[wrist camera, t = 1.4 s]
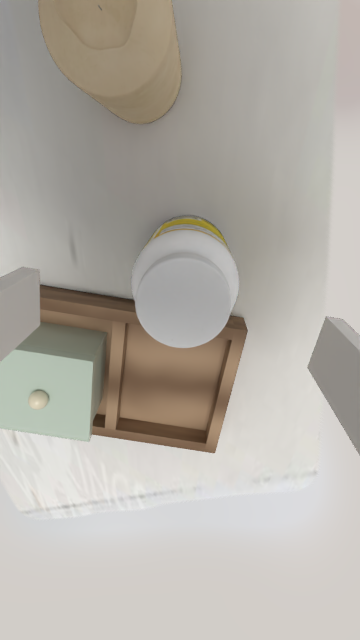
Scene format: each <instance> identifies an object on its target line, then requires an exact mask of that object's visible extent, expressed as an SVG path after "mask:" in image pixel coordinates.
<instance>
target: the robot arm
mask: <svg viewBox="0 0 360 640" xmlns="http://www.w3.org/2000/svg"><path fill="white" fill-rule="evenodd" d="M39 326H40V281H39V270H38V269H32V268H26V267H21V268H19V269H17V270H15V271H13V272H11V273H9V274H7V275H5V276H3V277H1V278H0V362H1V361H2V360H3V359H4V358H5V357H6V356H7V355H9V354H10V353H11V352H12V351H13V350H14V349H15V348H16V347H17V346H18V345H19V344H20V343H21V342H23V341H24V340H25V339H26V338H27V337H28V336H29V335H30V334H31V333H32V332H33V331H34V330H36V329H37V328H38V327H39ZM307 368H308V369H309V371H310V373H311V374H312V376H313V378H314V379H315V381H316V383H317V385H318V386H319V388H320V390H321V391H322V393H323V395H324V396H325V398H326V400H327V401H328V402H329V404H330V406H331V408H332V410H333V411H334V413H335V415H336V416H337V418H338V420H339V421H340V423H341V425H342V426H343V428H344V430H345V431H346V433H347V434H348V436H349V438H350V440H351V441H352V443H353V445H354V446H355V448H356V450H357V452H358V453H359V455H360V335H359V334H358V333H357V332H356V331H355V330H354V329H353V328H352V327H351V326H349V325H348V324H347V323H346V322H345V321H344V320H343V319H340V318H334V317H327V316H326V318H325V321H324V323H323V326H322V329H321V332H320V334H319V337H318V340H317V342H316V345H315V348H314V351H313V353H312V356H311V359H310V362H309V364H308V367H307Z"/></svg>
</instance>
